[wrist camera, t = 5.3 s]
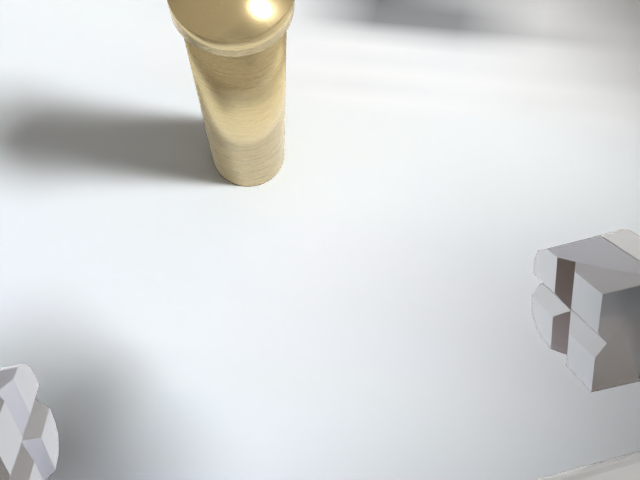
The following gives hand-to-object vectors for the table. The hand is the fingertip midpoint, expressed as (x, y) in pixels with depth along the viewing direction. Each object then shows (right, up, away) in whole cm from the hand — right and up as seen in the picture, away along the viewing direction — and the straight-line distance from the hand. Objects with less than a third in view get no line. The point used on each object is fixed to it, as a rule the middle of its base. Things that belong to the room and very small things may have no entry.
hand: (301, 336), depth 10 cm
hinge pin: (-3, +5, +16) cm, 17 cm away
